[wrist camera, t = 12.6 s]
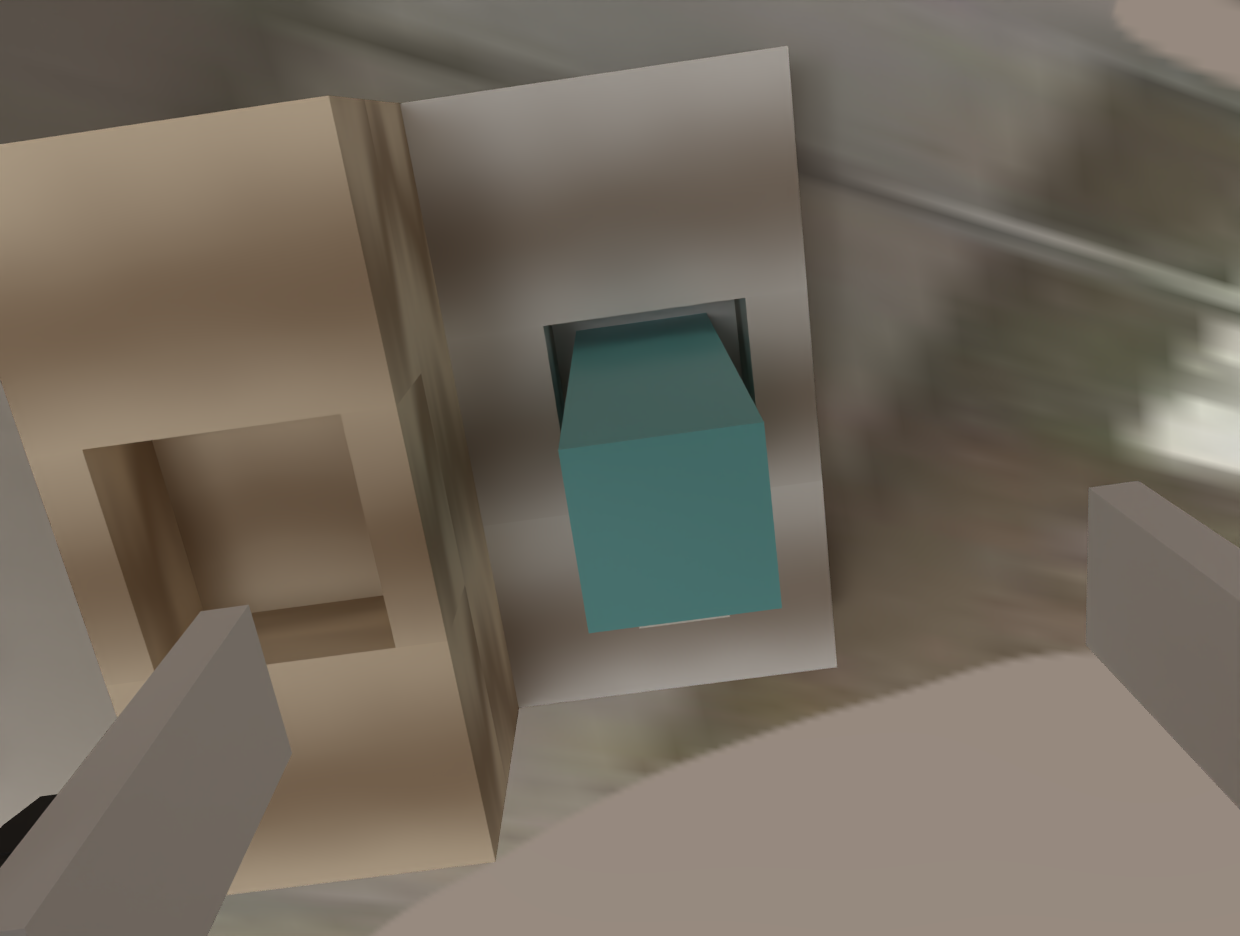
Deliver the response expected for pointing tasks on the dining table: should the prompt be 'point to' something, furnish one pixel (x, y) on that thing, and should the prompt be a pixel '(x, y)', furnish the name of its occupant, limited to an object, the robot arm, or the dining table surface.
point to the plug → (665, 478)
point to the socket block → (398, 411)
